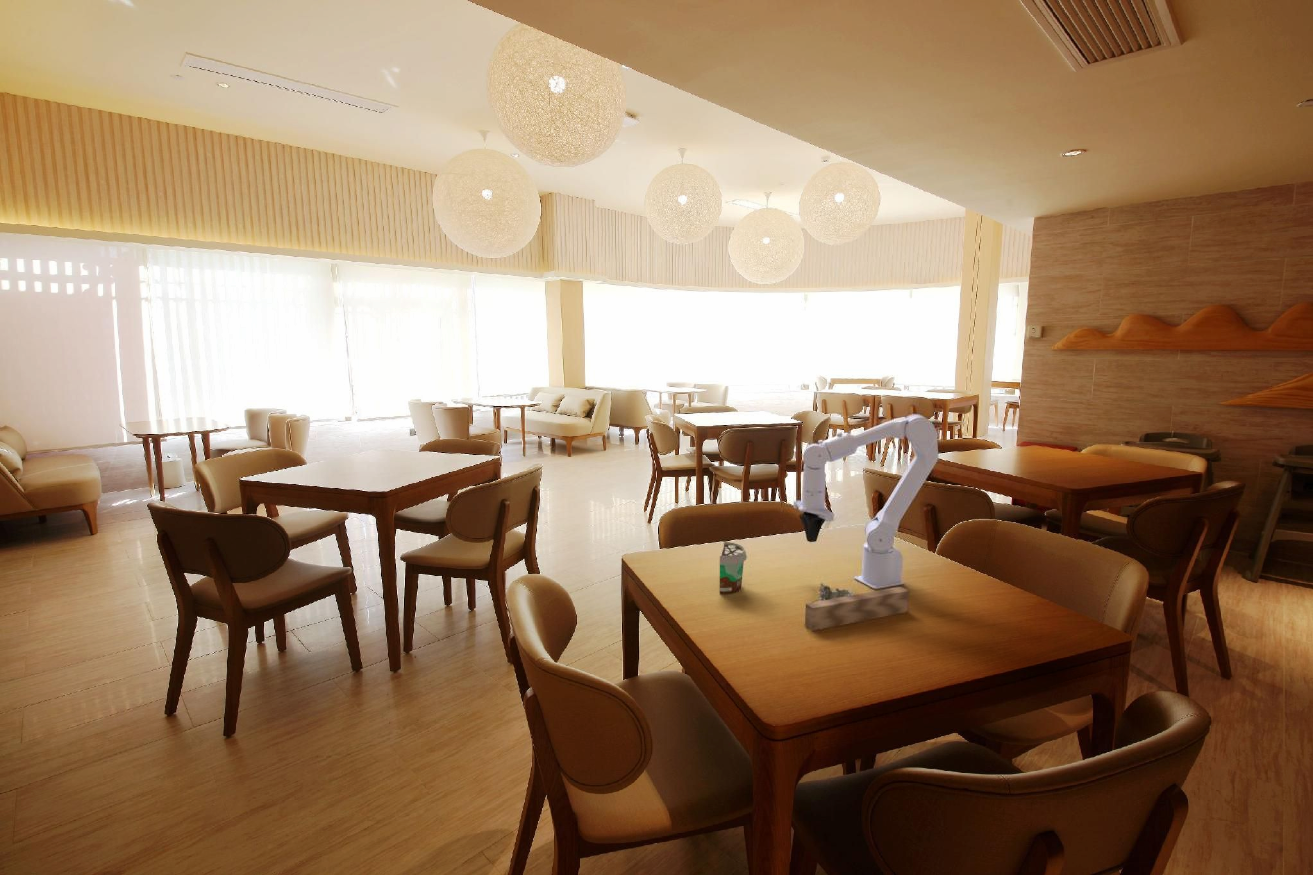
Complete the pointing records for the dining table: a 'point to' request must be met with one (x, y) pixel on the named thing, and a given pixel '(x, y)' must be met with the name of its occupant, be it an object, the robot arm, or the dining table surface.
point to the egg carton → (832, 593)
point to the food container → (731, 568)
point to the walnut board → (856, 608)
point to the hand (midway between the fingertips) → (811, 541)
